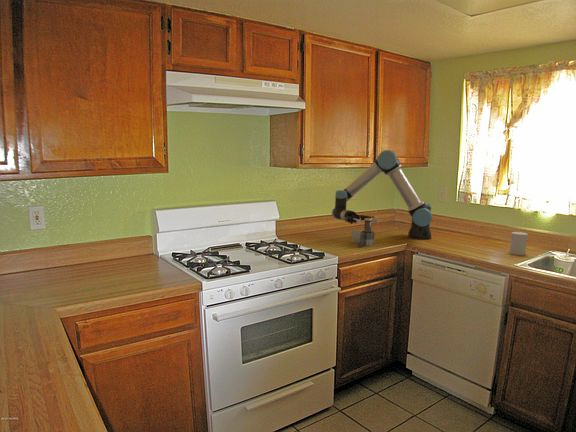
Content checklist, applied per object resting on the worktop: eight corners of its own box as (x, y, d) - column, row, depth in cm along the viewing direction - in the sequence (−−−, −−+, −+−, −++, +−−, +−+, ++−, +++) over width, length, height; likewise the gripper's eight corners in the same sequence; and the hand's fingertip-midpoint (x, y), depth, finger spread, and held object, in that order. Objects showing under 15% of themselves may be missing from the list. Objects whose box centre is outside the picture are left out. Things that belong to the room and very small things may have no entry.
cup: (528, 255, 241) (530, 234, 239) (514, 255, 241) (517, 234, 239) (519, 251, 249) (521, 231, 247) (506, 251, 249) (508, 231, 247)
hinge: (354, 241, 267) (355, 228, 266) (375, 244, 259) (376, 231, 258) (345, 245, 255) (345, 232, 254) (366, 248, 248) (367, 235, 246)
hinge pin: (364, 243, 261) (366, 217, 259) (371, 244, 259) (373, 218, 256) (361, 244, 258) (363, 218, 255) (368, 245, 255) (370, 219, 252)
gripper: (363, 220, 279) (385, 226, 261) (332, 222, 268) (352, 229, 250) (364, 209, 278) (385, 214, 260) (332, 211, 267) (352, 216, 248)
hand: (369, 221), depth 255 cm, fingers open, 13 cm apart
